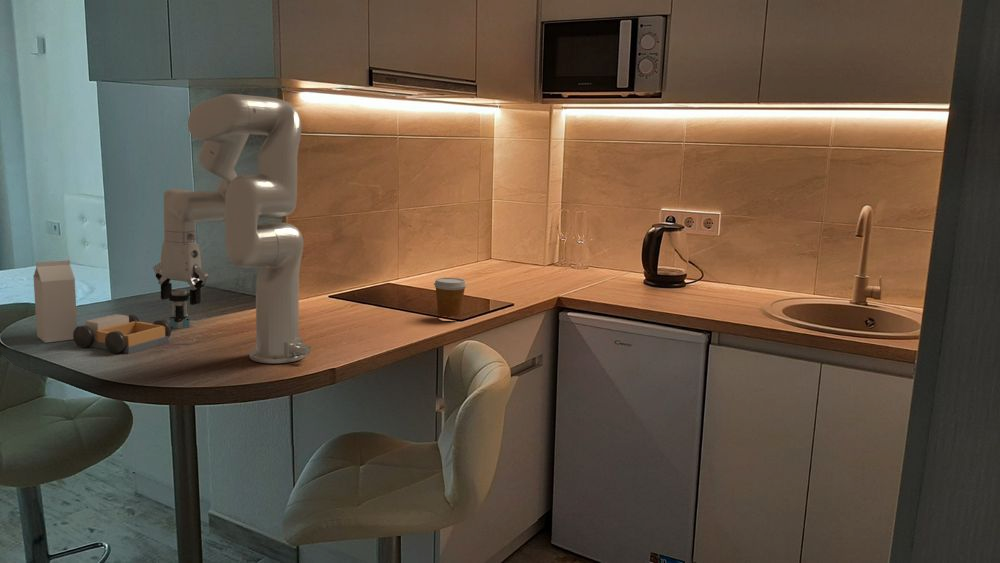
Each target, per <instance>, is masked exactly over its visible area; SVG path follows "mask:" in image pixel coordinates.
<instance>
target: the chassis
mask: <svg viewBox="0 0 1000 563" xmlns="http://www.w3.org/2000/svg"><path fill="white" fill-rule="evenodd" d="M84 322H85V323H84V324H85V325H80V326H77V327H76V328H75V330H74V332H73V338H74V339H73V340H74V342H75V344H76V346H77V347H79V348H86V347H89V348H90V347H92V348H97V349H101V350H108V351H109V352H110V353H112V354H118V353H122V354H123V353H124V354H134V353H135V352H140V351H144V350H147V349H149V348H153V347H156V346H160V345H163V344H168V343H169V341H170V340H169V338H170V337H171V335H172V329H171V326H170V322H168V321H167V320H166V319H159V320H156V321H154V322H152V323H150V322H143V321H140V319H139V318H138V317H137V316H136V315H134V314H127V315H126V314H125V315H123V314H120V313H115V314H112V315H111V314H110V315H107V316H101V317H98V318H93V319H89V320H85V321H84Z"/></svg>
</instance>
